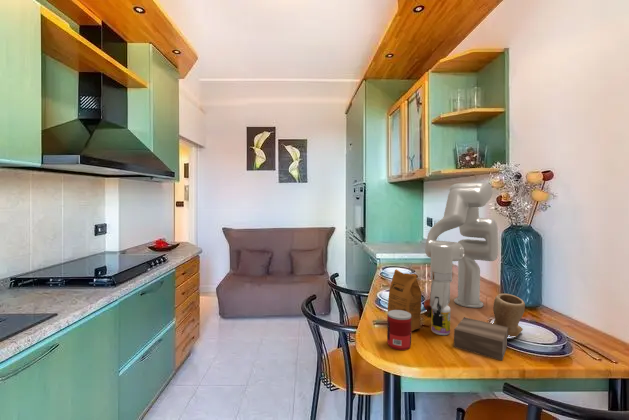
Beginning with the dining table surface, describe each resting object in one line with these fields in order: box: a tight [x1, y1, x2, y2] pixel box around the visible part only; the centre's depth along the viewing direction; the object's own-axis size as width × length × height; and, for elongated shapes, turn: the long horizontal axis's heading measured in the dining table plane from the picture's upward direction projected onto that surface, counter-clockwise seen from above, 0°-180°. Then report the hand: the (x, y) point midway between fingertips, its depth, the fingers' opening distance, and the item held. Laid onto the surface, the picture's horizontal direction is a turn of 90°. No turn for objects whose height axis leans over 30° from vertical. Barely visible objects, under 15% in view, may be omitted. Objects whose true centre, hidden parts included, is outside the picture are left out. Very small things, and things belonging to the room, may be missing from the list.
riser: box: [453, 316, 508, 361], centre depth 101 cm, size 14×14×6 cm
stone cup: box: [492, 293, 526, 337], centre depth 110 cm, size 15×12×15 cm
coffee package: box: [387, 269, 422, 332], centre depth 116 cm, size 10×12×22 cm
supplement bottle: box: [430, 300, 452, 336], centre depth 111 cm, size 7×7×13 cm
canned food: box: [386, 310, 412, 351], centre depth 101 cm, size 8×8×11 cm
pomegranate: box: [423, 298, 432, 317], centre depth 129 cm, size 7×7×10 cm
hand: (440, 322), depth 111 cm, fingers closed on supplement bottle, 6 cm apart
